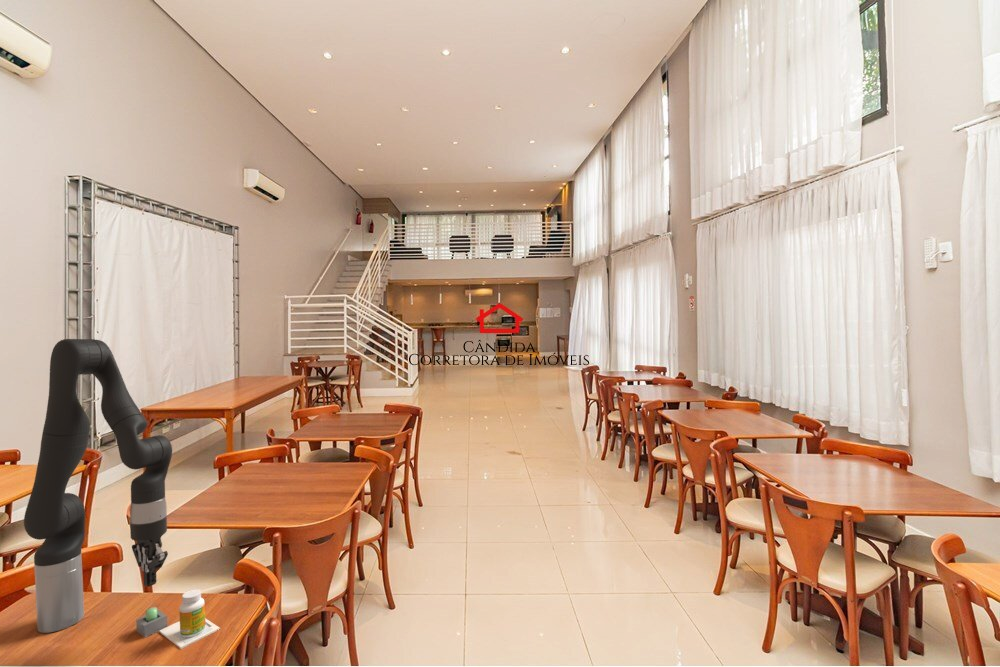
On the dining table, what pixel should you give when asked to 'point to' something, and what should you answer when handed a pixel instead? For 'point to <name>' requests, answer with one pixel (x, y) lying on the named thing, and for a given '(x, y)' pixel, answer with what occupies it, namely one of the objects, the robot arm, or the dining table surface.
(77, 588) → the robot arm
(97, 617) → the dining table surface
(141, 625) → the button housing
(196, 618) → the supplement bottle
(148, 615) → the button
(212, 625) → the white flat block
